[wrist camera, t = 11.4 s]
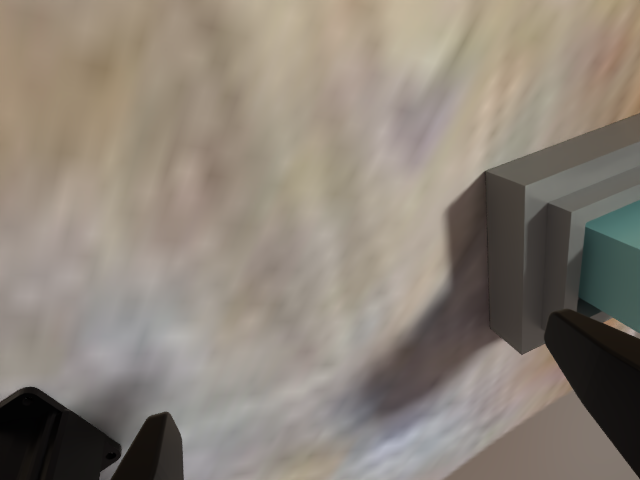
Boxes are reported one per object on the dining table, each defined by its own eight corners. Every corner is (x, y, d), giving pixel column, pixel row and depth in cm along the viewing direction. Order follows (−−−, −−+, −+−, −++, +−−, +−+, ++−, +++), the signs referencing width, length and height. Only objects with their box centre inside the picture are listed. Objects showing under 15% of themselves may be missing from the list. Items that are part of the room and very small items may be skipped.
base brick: (490, 328, 29) (539, 370, 26) (485, 171, 24) (548, 195, 20) (621, 267, 32) (684, 297, 28) (646, 110, 26) (730, 121, 22)
